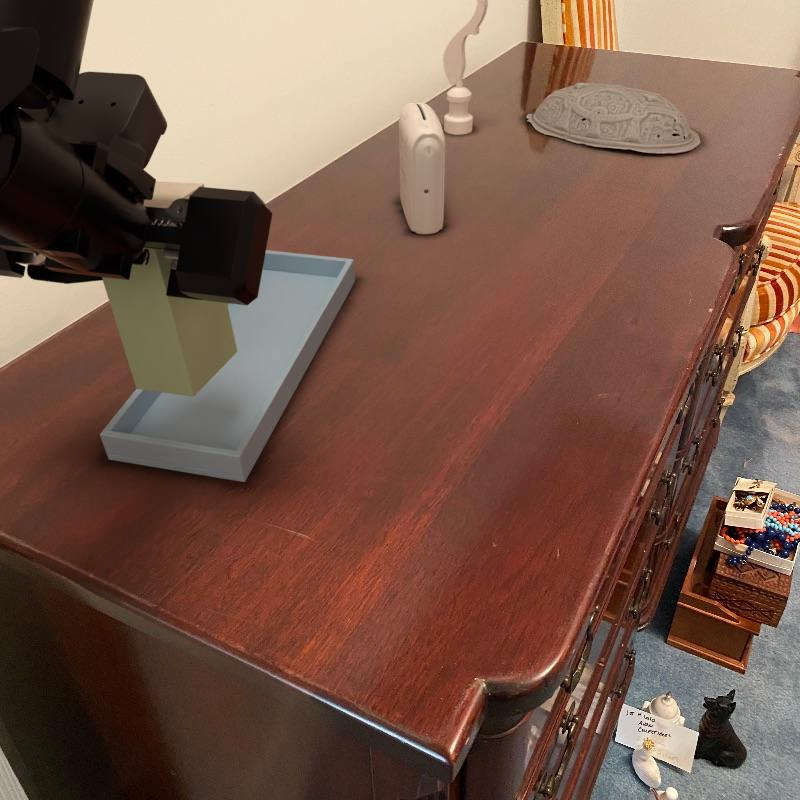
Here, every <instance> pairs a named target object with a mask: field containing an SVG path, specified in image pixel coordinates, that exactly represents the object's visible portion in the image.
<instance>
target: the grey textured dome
mask: <svg viewBox="0 0 800 800" xmlns="http://www.w3.org/2000/svg"><path fill="white" fill-rule="evenodd" d="M525 118H526V119H527V120H526V122H527V123H528V122H529V123H530V124H531V125H532V127H533V128H534V129H535V131H537V132H539V133H541V134H543V135H546V136H550V137H555V138H559V139H562V140H565V141H568V142H571V143H574V144H578V145H585V146H589V147H595V148H602V149H603V148H605V149H606V148H607V149H615V150H617V149H619V150H632V151H636V152H639V153H640V152H641V153H644V154H645V153H647V154H663V155H664V154H680V153H685V152H689V151H692V150H694V149H695V148H697V147H698V146H700V144H701V139H700V136H699V134H698V133H696V132H695V130H693V129H691V127H690V125H689V124H688V122H687V118H686V116H685V115H684V114H683V113H682V111H680V110H679V109H678V108H677V106H676V105H674V104H673V103H671V102H670V101H669V100H667V99H666V98H664V97H663V96H662V95H660V94H659V93H657V92H650V91H647V90H643V89H640V88H636V87H628V86H623V85H621V84H610V83H599V82H598V83H597V82H596V83H592V82H590V83H586V82H577V83H575V84H574V85H571V86H567V87H563V88H561V89H556V90H554V91H553V92H552V93H550V94H549V95H548V96H547V97H545V98H544V99H543V101H542V102H541V103H540V104H539V106H538V107H536V109H535V112H534V113H528V114H527V115H526V116H525ZM583 119H585V120H583ZM673 134H676V135H675V136H674V135H673Z"/></svg>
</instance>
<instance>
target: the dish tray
mask: <svg viewBox="0 0 800 800" xmlns="http://www.w3.org/2000/svg"><path fill="white" fill-rule="evenodd" d="M355 275H356V273H355V260H354V258H345V257H337V256H336V257H335V256H326V255H318V254H307V253H298V252H297V253H296V252H288V251H280V250H279V251H278V250H269V249H268V250H267V249H266V253H265V259H264V264H263V270H262V276H261V281H260V287H259V293H258V297H257V298H256V299H255V300H254V301H252V302H251V303H250V304H248V305H247V306H246V305H238V304H230V303H227V305H228V310H229V314H230V319H231V324H232V328H233V333H234V338H235V342H236V347H237V353H236V354H235V355H234V356H233V357H232V358H231V359H230V360H229V361H228V362H227V363H226V364H225V365H224V366H223V367H222V368H221V369H220V370H219V371H218V372H217V373H216V374H215V375H214V376H213V377H212V378H211V380H210V381H209V382H208V383H207V384H206V385H205V386H204V387H203V388H202V389H201V390H200V391H199V392H198V393H197V394H196V395H195V396H194V397H191V396H184V395H177V394H170V393H163V392H156V391H149V390H142V389H137V388H135V390H134V391H133V392H132V394H130V396H129V397H128V399H127V400H125V402H124V403H123V405H122V406H121V407H120V408H119V410H118V411H117V412H116V413H115V414H114V415H113V417H112V418H111V420H110V421H109V422H108V423H107V425H105V427H104V428H103V429H102V430H101V432H100V434H99V437H100V439H101V442H102V445H103V448H104V450H105V453H106V456H107V459H108V460H110V461H115V462H122V463H127V464H133V465H140V466H145V467H151V468H157V469H162V470H163V469H164V470H170V471H176V472H182V473H186V474H187V473H188V474H193V475H197V476H203V477H204V476H205V477H211V478H218V479H222V480H223V479H224V480H229V481H236V482H242V483H245V482H246V481H247V479H248V477H249V476H250V473H251V472H252V470H253V468H254V466H255V464H256V463H257V461H258V459H259V457H260V456H261V454H262V452H263V451H264V449H265V446H266V445H267V443H268V441H269V439H270V438H271V435H272V434H273V432H274V430H275V428H276V426H277V424H278V422H279V420H280V419H281V417H282V415H283V413H284V412H285V410H286V408H287V407H288V405H289V403H290V401H291V399H292V397H293V395H294V393H295V392H296V390H297V388H298V386H299V385H300V384H301V383H300V382H301V381H302V379H303V377H304V376H305V373H306V371H307V370H308V368H309V366H310V364H311V363H312V360H313V359H314V357H315V355H316V354H317V352H318V350H319V348H320V346H321V344H322V343H323V340H324V339H325V337H326V335H327V334H328V332H329V330H330V328H331V327H332V325H333V323H334V321H335V319H336V317H337V315H338V313H339V312H340V310H341V308H342V306H343V304H344V302H345V300H346V299H347V297H348V296H349V293H350V292H351V290H352V289H353V286H354V285H355V283H356V277H355Z"/></svg>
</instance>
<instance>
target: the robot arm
mask: <svg viewBox="0 0 800 800" xmlns="http://www.w3.org/2000/svg"><path fill="white" fill-rule="evenodd" d="M94 1H95V0H0V277H9V278H18V279H22V278H23V277H25V272H26V273H27V277H29V279H31V280H33V281H39V282H40V281H41V282H49V283H57V284H65V285H71V284H78V283H79V284H81V283H82V284H83V283H90V282H99V281H103V279H102V277H107V278H115V279H124V280H129V279H130V274H131V268H132V265H134V266H143V267H144V266H146V265H148V262H149V257H150V253H149V250H148V249H144V251H143V248H152V249H161V250H164V254H163V257H165V258H167V259H168V260H172V263H171V270H170V275H169V281H168V286H167V292H166V296H171V297H179V298H187V299H195V300H206V301H214V302H222V303H230V304H238V305H246V306H247V305H248V304H250V303H251V302H252V301H254V300H255V299H256V298H257V297H258V293H259V287H260V281H261V276H262V270H263V264H264V259H265V253H266V250H267V247H268V241H269V235H270V229H271V224H272V219H273V212H272V210H271V209H270V208H269V207H268V205H267V203H266V202H265V201H264V200H263V199H262V198H261V197H260V196H259V195H258V194H257V193H256V192H255V191H251V190H239V189H229V188H217V187H209V186H204V187H199V188H198V189H197V190H196V191H194V192H193V193H192V194H191V195H190V196H189V199H184V198H180V199H177V200H175V201H174V202H172V204H171V205H170V206H169V207H168V208H158V207H147V206H144V200H152V198H153V193H154V188H155V183H156V182H157V178H155V177H154V176H152V174H150V173H149V172H147V170H145V168H146V167H147V166H148V165H149V163H150V160H152V159H151V158H152V156H153V154H154V152H155V150H156V148H157V145H158V143H159V141H160V139H161V136H163V135H165V133H166V131H167V128H168V122H167V119H166V117H165V116H164V114H163V112H162V110H161V108H160V105H159V104H158V102H157V100H156V97H155V96H154V94H153V92H152V89H151V88H150V86H149V83H148V82H147V80H146V79H145V77H144V76H142V75H140V74H136V73H121V72H120V73H119V72H104V71H102V72H101V71H83V72H81V67H82V61H83V56H84V52H85V47H86V41H87V36H88V31H89V27H90V22H91V16H92V11H93V6H94ZM152 223H153V224H154V225H152ZM172 223H174V224H175V225H177V226H173V225H171V224H172ZM158 224H159V225H158ZM164 224H165V225H166V226H164ZM25 265H27V266H25Z"/></svg>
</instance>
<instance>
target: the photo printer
mask: <svg viewBox="0 0 800 800" xmlns="http://www.w3.org/2000/svg"><path fill="white" fill-rule="evenodd" d="M398 139H399V140H398V142H399V143H398V144H399V145H398V146H399V147H398V149H399V151H398V152H399V153H398V154H399V195H400V196H399V198H400V205H401V207H402V211H403V214H404V217H405V220H406V224H407V226H408V228H409V230H410V231H411V232H414V233H415V234H418V235H433V234H436V233H438V232H439V231H440V230H442V229H443V227H444V219H445V218H444V217H445V187H446V186H445V185H446V182H445V180H446V137H445V133H444V129H443V127H442V124H441V122H440V119H439V117H438V115H437V113H436V112H435V111H434V109H433V108H432V107H431V106H430V105H428V104H427V103H426V102H423V101H419V102H409V103H407V104H406V105H405V106H404V107H403V108H402V109H401V111H400V114H399V117H398Z"/></svg>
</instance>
